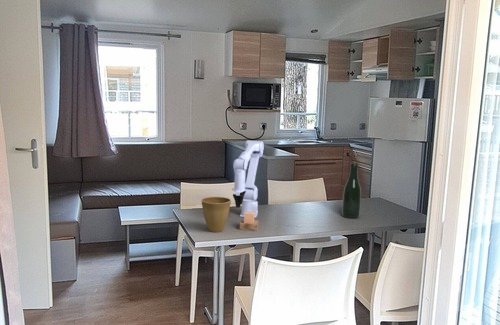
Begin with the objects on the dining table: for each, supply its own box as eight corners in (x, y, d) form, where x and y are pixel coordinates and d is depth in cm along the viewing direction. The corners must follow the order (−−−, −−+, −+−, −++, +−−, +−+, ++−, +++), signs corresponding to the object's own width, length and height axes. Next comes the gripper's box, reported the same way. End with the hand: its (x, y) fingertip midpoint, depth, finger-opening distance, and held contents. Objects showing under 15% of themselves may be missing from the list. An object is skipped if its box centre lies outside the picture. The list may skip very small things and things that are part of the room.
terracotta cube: (254, 221, 243) (254, 212, 242) (253, 223, 238) (253, 214, 237) (245, 220, 243) (245, 211, 242) (243, 223, 238) (244, 213, 237)
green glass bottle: (338, 216, 270) (341, 161, 265) (347, 213, 278) (351, 159, 273) (353, 220, 263) (357, 163, 258) (363, 216, 271) (367, 161, 265)
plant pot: (228, 225, 243) (229, 196, 241) (231, 234, 228) (232, 203, 226) (200, 225, 241) (201, 196, 239) (201, 234, 226) (201, 203, 224)
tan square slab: (258, 225, 245) (258, 220, 244) (256, 230, 236) (257, 225, 235) (242, 224, 246) (242, 219, 245) (239, 229, 237) (239, 223, 237)
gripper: (234, 178, 254) (233, 202, 256) (230, 183, 240) (229, 208, 242) (247, 179, 253) (246, 202, 255) (243, 184, 239) (242, 209, 241)
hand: (239, 205), depth 249 cm, fingers open, 7 cm apart
